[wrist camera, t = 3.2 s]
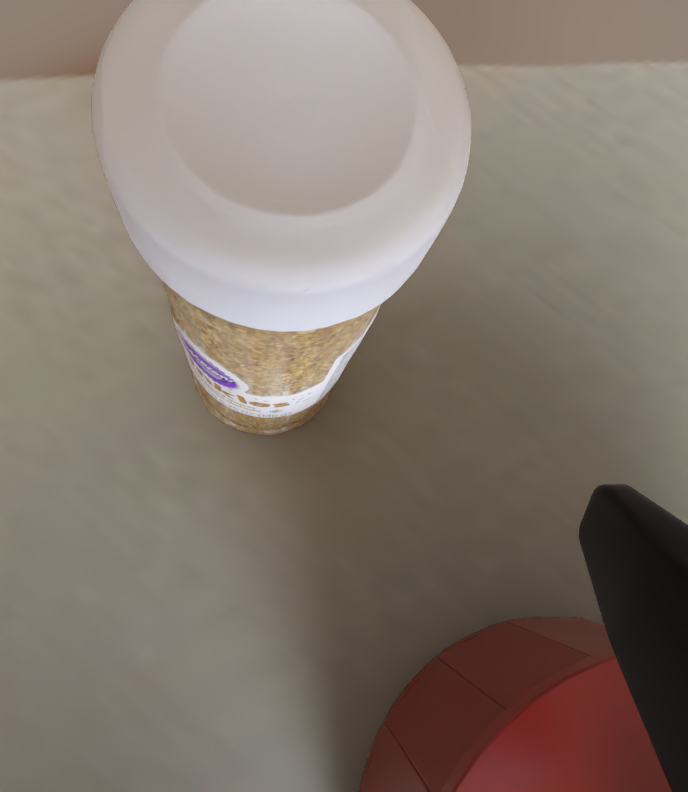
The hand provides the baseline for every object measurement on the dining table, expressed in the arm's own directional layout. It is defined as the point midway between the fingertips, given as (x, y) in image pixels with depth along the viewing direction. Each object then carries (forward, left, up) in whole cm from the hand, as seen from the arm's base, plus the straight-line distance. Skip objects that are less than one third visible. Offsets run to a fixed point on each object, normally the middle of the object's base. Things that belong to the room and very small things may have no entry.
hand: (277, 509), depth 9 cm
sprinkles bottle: (+4, +3, -11) cm, 12 cm away
